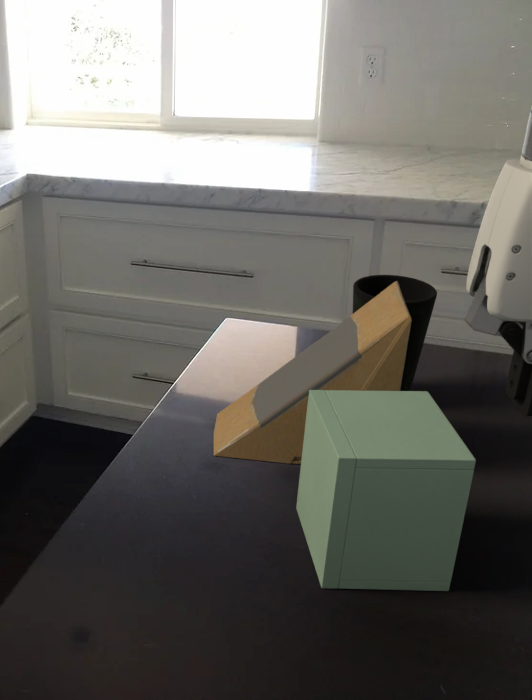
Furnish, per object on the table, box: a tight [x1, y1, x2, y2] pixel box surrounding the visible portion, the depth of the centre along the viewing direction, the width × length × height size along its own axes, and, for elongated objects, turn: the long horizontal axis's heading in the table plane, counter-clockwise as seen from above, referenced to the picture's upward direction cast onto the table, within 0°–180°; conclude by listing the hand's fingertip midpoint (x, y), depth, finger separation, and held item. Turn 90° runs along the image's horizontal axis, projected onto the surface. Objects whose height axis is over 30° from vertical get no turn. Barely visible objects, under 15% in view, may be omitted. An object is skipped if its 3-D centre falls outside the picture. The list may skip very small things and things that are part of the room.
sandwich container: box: [213, 281, 412, 465], centre depth 78 cm, size 9×15×15 cm, turn 78°
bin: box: [295, 390, 477, 592], centre depth 64 cm, size 9×10×11 cm
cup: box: [352, 274, 438, 391], centre depth 86 cm, size 8×8×12 cm
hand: (528, 406), depth 61 cm, fingers closed
